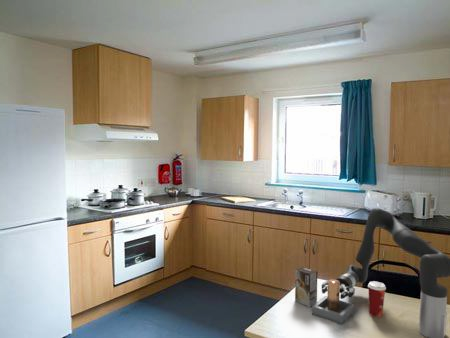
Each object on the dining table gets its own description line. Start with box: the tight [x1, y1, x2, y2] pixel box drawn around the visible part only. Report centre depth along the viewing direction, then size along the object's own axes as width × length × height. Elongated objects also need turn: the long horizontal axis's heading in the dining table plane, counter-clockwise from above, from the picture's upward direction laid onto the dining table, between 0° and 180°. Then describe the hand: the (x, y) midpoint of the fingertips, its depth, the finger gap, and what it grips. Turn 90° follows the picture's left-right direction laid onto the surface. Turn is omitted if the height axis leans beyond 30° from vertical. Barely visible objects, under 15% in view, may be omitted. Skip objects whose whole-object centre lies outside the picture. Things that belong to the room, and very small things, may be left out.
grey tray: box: [311, 295, 355, 325], centre depth 163 cm, size 14×14×4 cm
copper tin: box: [327, 279, 341, 313], centre depth 162 cm, size 5×5×14 cm
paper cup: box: [367, 280, 387, 317], centre depth 163 cm, size 8×8×14 cm
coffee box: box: [294, 266, 318, 308], centre depth 174 cm, size 9×6×16 cm
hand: (332, 293), depth 161 cm, fingers open, 8 cm apart
